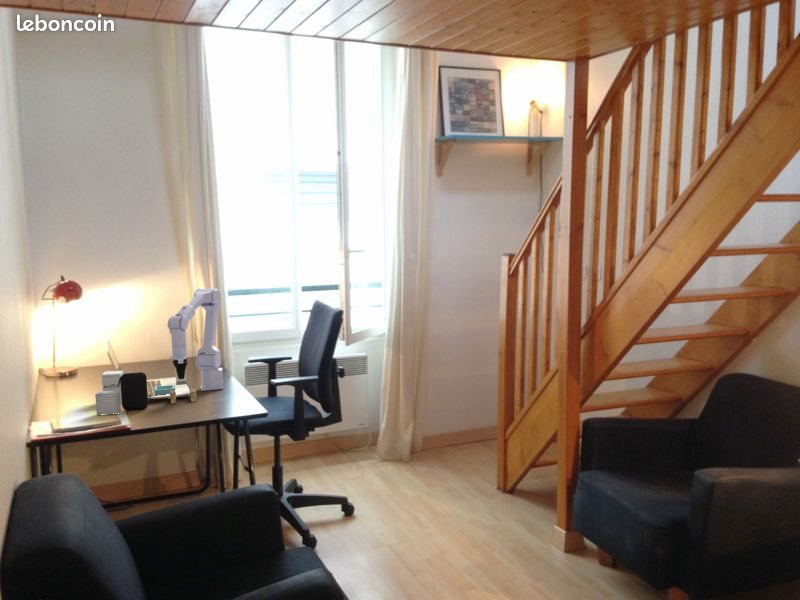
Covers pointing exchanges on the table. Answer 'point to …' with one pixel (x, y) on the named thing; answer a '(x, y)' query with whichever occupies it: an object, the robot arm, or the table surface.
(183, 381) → the plug
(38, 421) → the table surface
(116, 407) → the medicine box
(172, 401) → the wooden pieces
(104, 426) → the table surface
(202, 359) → the robot arm
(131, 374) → the black rounded piece
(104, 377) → the supplement box
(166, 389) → the port
